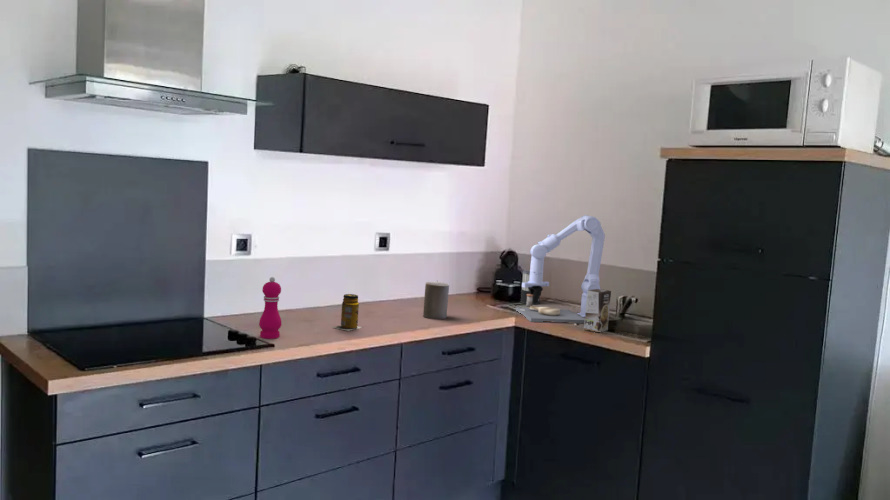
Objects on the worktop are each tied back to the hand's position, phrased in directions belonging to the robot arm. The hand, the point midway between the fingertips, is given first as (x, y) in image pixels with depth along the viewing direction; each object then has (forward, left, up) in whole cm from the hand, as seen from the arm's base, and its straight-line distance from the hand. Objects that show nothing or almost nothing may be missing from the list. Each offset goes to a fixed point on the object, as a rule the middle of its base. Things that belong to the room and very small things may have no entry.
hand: (534, 303), depth 316 cm
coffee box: (-16, +33, -5) cm, 37 cm away
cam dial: (-2, +6, -3) cm, 7 cm away
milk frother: (-4, -31, -5) cm, 31 cm away
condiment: (+82, +42, -5) cm, 92 cm away
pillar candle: (+46, +16, -5) cm, 48 cm away
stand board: (-5, +8, -4) cm, 10 cm away
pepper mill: (+108, +60, -5) cm, 123 cm away
